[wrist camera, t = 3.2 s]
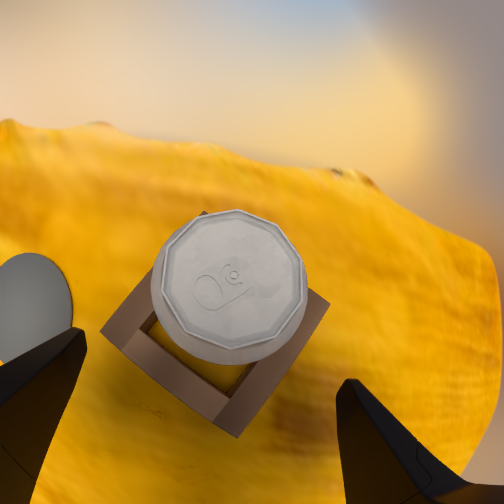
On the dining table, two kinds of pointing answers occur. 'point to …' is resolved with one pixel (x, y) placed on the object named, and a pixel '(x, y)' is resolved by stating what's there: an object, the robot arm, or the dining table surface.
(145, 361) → the socket block
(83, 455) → the dining table surface
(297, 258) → the beer can
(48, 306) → the coaster
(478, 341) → the dining table surface
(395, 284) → the dining table surface
